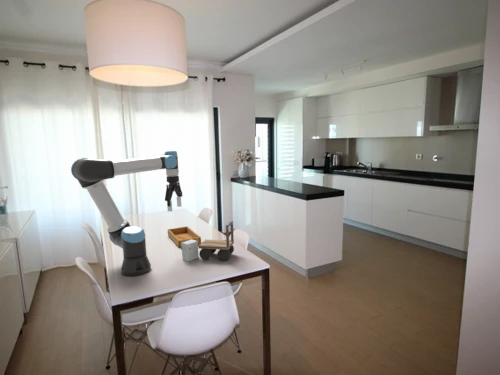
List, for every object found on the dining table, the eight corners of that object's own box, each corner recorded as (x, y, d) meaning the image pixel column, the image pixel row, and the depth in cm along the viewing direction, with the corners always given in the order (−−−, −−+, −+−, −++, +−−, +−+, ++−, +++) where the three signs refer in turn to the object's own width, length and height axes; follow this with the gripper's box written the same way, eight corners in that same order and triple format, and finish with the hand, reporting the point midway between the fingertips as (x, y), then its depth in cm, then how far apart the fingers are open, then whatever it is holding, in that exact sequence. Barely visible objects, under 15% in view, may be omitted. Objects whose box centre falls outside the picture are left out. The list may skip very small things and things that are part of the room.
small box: (192, 255, 188) (191, 239, 187) (198, 257, 185) (197, 240, 183) (182, 259, 182) (181, 242, 181) (188, 261, 179) (187, 244, 177)
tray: (201, 244, 210) (200, 236, 209) (179, 248, 203) (178, 240, 202) (187, 233, 237) (187, 226, 236) (167, 236, 230) (167, 229, 229)
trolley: (229, 261, 177) (227, 225, 174) (199, 259, 181) (197, 224, 178) (234, 253, 189) (232, 220, 186) (206, 252, 193) (204, 219, 190)
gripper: (169, 178, 181) (171, 213, 184) (186, 173, 205) (188, 204, 208) (157, 178, 182) (160, 213, 186) (175, 173, 207) (177, 204, 210)
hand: (174, 208), depth 197 cm, fingers open, 13 cm apart
